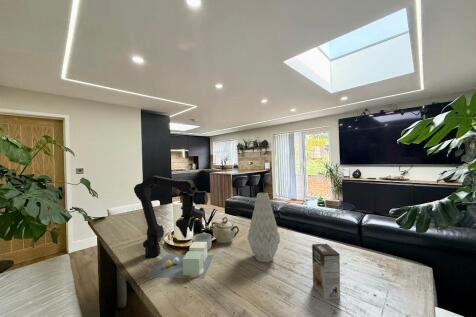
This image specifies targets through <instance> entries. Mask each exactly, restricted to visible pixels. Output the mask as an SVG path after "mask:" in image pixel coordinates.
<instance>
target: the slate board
mask: <svg viewBox="0 0 476 317" xmlns="http://www.w3.org/2000/svg"><path fill="white" fill-rule="evenodd" d="M185 255H186V254H174V253H173V254H172V253H171V254H164V256H162V258H161V259H160V260H159V261H158V262H157V263H156V264H155V265H154V267H152V269H150V271H149V272H148V273H147V274H146V275H145V276H144V278H165V279H166V278H167V279H168V278H171V279H199V280H200V279H203V280H204V279H205V278H206V275H207V273H208V270H209V268H210V265H211V263H212V261H213V260H214V256H215V254H207V257H206V259H205V261H204V262H203V268H204V272H203V273H202V274H201V275H199V276H197V277H186V276H184V275H183V258H184V256H185ZM175 257H177V258H179V262H178V264H173V259H174V258H175ZM167 260H171V262H172V264H171V266H170V267H166V266H165V262H166V261H167Z"/></svg>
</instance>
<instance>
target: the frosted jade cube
mask: <svg viewBox="0 0 476 317" xmlns="http://www.w3.org/2000/svg"><path fill="white" fill-rule="evenodd" d="M184 255H185V256H184V258H183V275H200V273H201V271H202V269H203V252H201V251H187V252H186V253H185V254H184Z"/></svg>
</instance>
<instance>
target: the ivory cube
mask: <svg viewBox="0 0 476 317" xmlns="http://www.w3.org/2000/svg"><path fill="white" fill-rule="evenodd" d="M188 250H189V251H201V252H203V262H204V261H205V259H206V257H207V255H208V251H207V242H193V243H192V242H191V244H190V246H189V248H188Z"/></svg>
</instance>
